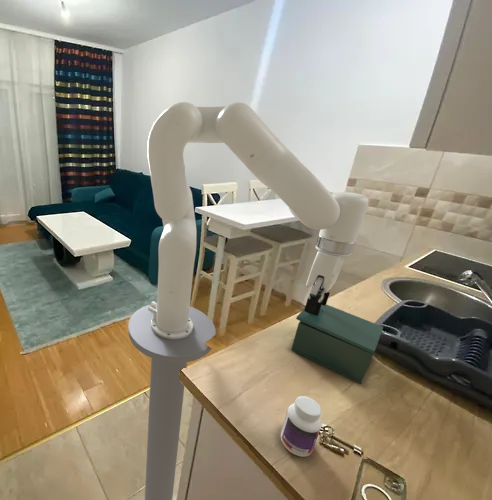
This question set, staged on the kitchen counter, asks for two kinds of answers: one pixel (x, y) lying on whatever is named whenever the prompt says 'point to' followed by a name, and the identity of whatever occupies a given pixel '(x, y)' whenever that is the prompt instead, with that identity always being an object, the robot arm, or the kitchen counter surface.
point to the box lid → (344, 326)
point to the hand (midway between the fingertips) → (315, 307)
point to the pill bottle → (301, 426)
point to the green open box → (331, 352)
